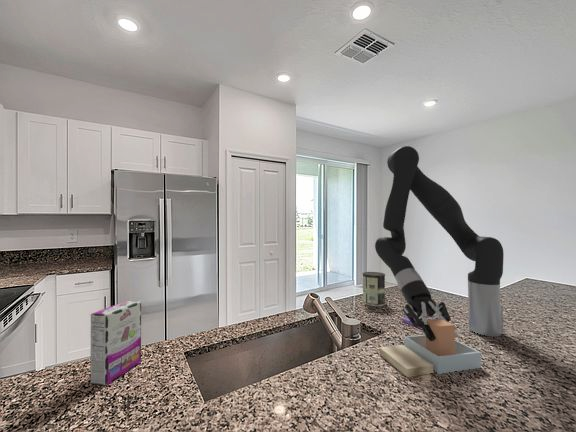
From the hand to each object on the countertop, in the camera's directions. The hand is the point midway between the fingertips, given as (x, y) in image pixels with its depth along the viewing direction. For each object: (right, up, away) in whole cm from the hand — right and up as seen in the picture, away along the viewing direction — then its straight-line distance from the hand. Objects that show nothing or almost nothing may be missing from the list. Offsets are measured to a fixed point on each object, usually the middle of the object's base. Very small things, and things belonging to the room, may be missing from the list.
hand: (441, 338), depth 75 cm
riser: (-11, -6, -2) cm, 13 cm away
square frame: (0, -6, 0) cm, 6 cm away
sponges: (+7, -7, +25) cm, 27 cm away
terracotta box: (0, -6, 0) cm, 6 cm away
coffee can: (-2, -8, +54) cm, 55 cm away
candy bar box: (-86, -5, -7) cm, 86 cm away
